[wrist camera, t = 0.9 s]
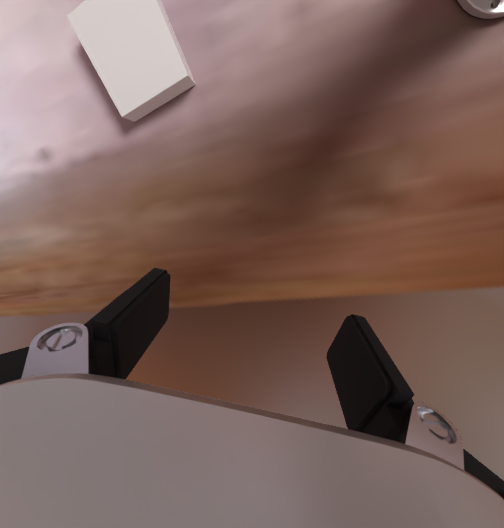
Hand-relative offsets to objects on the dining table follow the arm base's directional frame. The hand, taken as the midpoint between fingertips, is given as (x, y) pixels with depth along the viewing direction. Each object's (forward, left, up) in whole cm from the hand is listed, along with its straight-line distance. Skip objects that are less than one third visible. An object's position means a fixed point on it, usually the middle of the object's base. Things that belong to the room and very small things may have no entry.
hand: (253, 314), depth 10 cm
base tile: (+8, -26, -27) cm, 39 cm away
